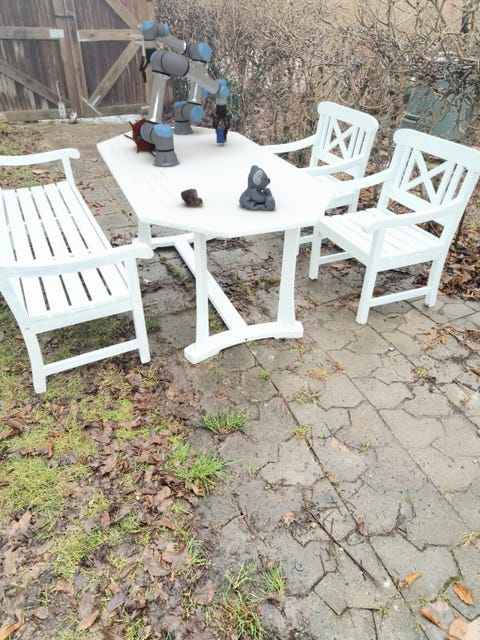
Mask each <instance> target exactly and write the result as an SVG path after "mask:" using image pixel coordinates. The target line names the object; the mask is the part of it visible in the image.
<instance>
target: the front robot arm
mask: <svg viewBox="0 0 480 640" xmlns="http://www.w3.org/2000/svg"><path fill="white" fill-rule="evenodd" d="M149 65H150V66H151V69H152V70H151V74H152V76H153V80H152V87H151V95H150V101H149V109H148V116H147V117H146V119H145V123H144V124H143V125H142V127H141V135H142V137H143V139H144V140H145V141H147V142H149V143H153V144H155V145H156V149H155V154H154V153H153V152H152V150H148V152H149V153H150V154H151V155H152V156H154V165H155V166H157V167H163V168H164V167H165V168H167V167H168V168H169V167H174V166H177V165H178V164H179V159H178V157H177V156H178V155H177V153H176V151H175V143H174V130H172V129H173V127H172V126H171V125H169V124H167V123H164V122H163V114H164V113H163V112H164V108H165V107H164V106H165V100H166V93H167V86H168V80H169V79H171V76H172V74H173V75H176V76H179V77H181V78H186V79H187V80H189V81H192V82H194V83H196V84H197V85H199V86H200V87H201V97H204V98H205V97H206V98H207V97H211V98H215V112H212V113H211V116H212V129H215V130H214V131H215V132H216V129H218V128H219V125H220V120H221V119H222V122H223V127H224V128H225V130H224V139H227V140H228V138H227V137H228V135H229V130H230V129H231V113H228V112H227V99H228V98H229V96H230V88H229V87H228V86H227V80H226V79H224V78H223V79H222V78H218V79H215V80H214V79H212V78H211V77H210V76H208V75H207V74H205V73H204V74H203V73H202V72H200V71H199V70H197V69H196V68H194V67H193V65H191V63H190V61H188V60H187V59H186V58H184V56H182V55H181V54H179V53H176V52H174V51H171V50H163V49H160V50H156V52H154V53H153V54H152V56H151V59H150V64H149ZM123 136H125V137H126V138H128V139H131V140H133V137H131V136H129V135H128V134H125V133H124V134H123Z"/></svg>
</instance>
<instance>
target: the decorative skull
mask: <svg viewBox="0 0 480 640" xmlns="http://www.w3.org/2000/svg"><path fill="white" fill-rule="evenodd" d="M146 118H147V117H146ZM146 118H141V119H139V120H137V121H136V122H134V123H132V122H131V121H130V120H128V123H129V125H130V127H131V130H132V131H131V134H132V135H131V136H132V137H131V138H133V139H132V140H133V142H134V144H135V146H136V153H137V154H138V153H139V151H141V150H142V151H149V150H150V151H154V150H156V145H155V144H153V143H149V142H147V141H145V140H144V139H143V137H142V135H141V127H142V125H143V124H144V123H145V119H146Z"/></svg>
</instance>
